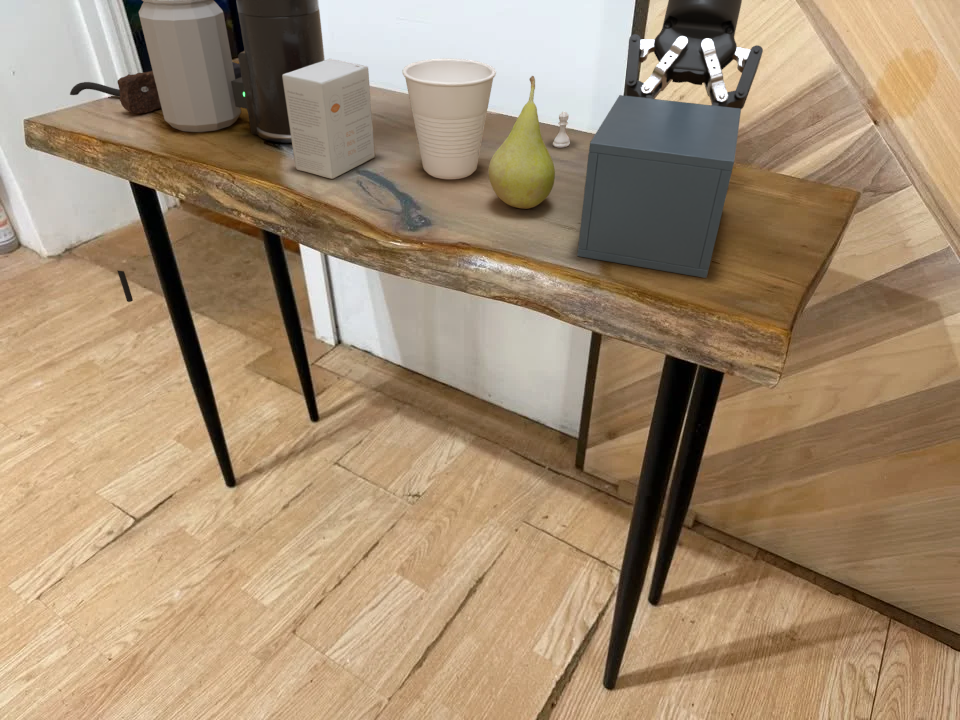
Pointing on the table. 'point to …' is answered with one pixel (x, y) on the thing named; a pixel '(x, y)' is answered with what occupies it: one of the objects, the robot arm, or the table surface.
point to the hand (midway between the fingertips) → (674, 136)
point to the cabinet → (658, 184)
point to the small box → (329, 117)
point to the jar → (190, 63)
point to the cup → (449, 112)
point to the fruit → (523, 162)
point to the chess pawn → (562, 132)
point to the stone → (139, 92)
